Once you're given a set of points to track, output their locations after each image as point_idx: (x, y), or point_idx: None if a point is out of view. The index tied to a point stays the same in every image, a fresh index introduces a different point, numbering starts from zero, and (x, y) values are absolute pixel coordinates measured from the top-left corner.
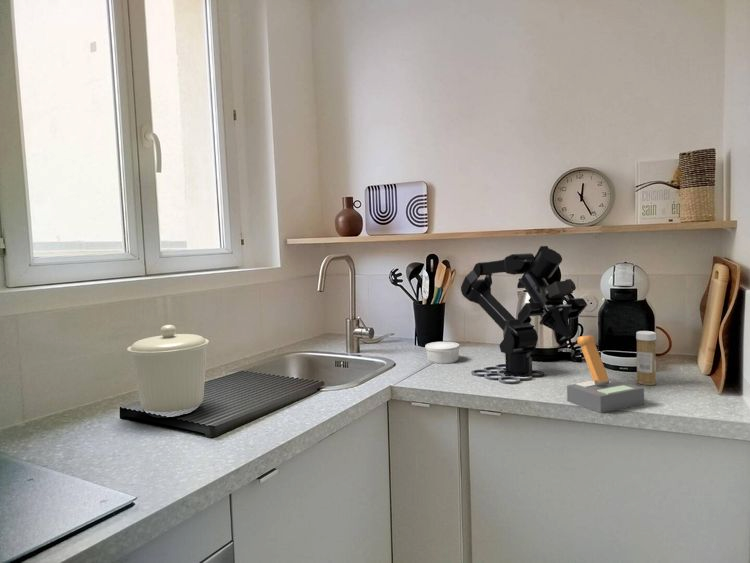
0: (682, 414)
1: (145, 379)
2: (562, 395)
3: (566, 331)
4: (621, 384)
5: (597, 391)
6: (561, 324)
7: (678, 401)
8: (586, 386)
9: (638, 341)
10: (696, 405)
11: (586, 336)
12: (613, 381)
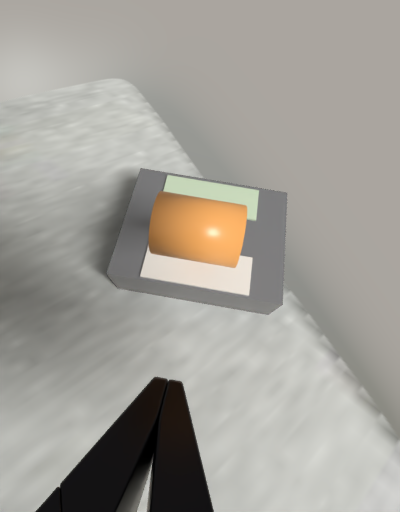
0: (155, 131)
1: None
2: (236, 359)
3: (184, 412)
4: (148, 215)
5: (258, 218)
6: (204, 507)
7: (74, 164)
8: (249, 256)
9: None
10: (79, 136)
11: (209, 205)
12: (133, 244)
